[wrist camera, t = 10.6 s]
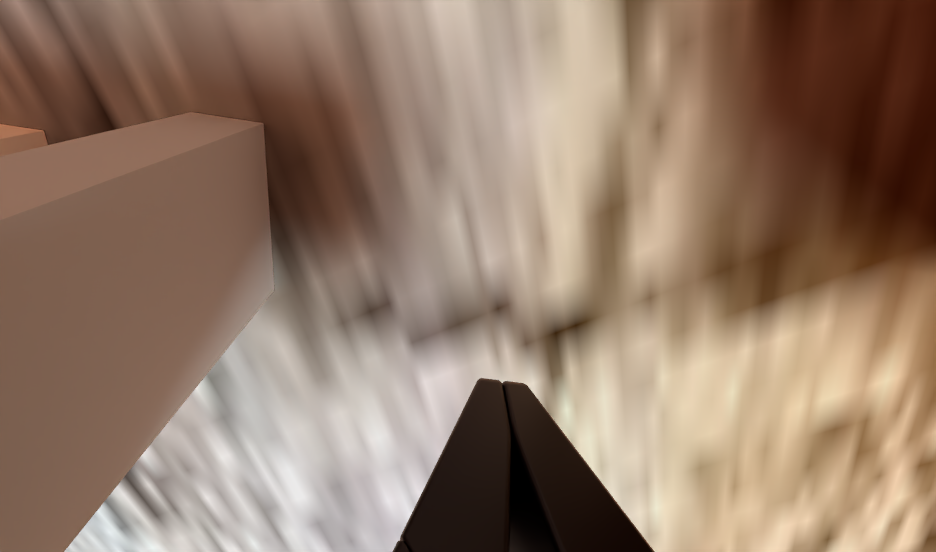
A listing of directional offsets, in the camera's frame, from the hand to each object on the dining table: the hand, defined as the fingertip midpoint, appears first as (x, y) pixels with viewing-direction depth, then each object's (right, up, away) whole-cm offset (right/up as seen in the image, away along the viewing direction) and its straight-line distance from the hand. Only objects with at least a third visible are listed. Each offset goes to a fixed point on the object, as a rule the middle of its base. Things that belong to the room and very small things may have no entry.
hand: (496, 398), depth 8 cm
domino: (-6, +4, +3) cm, 8 cm away
